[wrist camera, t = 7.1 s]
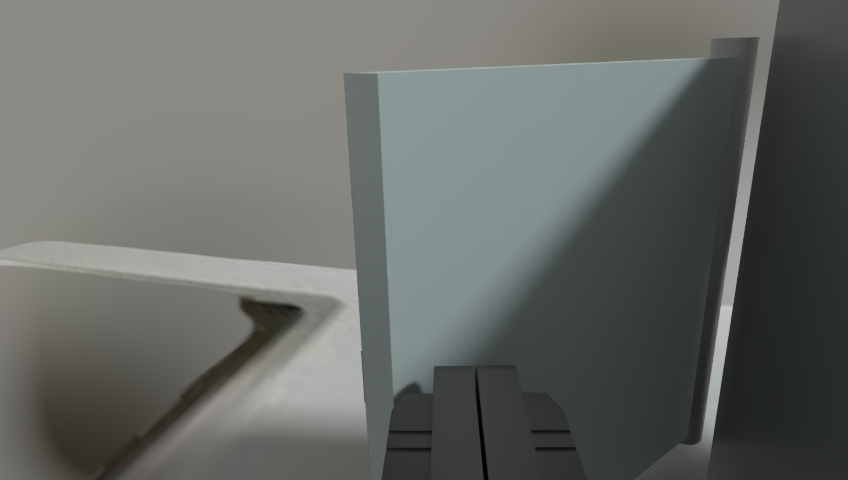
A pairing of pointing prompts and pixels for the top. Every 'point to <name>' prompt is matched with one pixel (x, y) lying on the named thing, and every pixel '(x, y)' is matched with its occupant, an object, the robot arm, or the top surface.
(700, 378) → the side door
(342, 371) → the top surface
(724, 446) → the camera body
